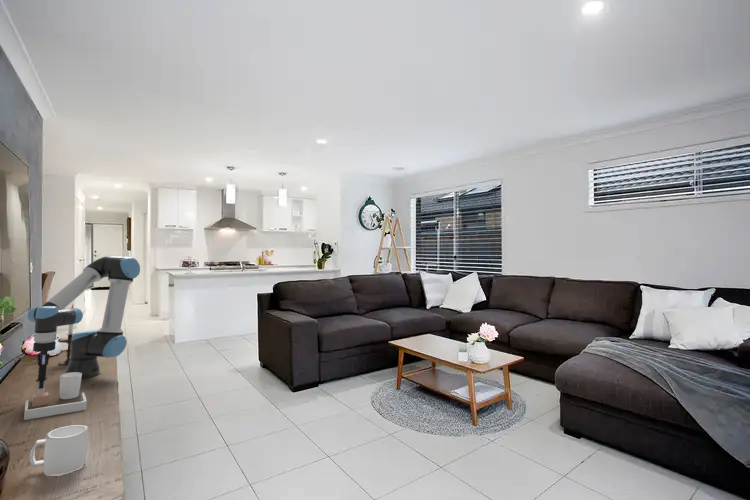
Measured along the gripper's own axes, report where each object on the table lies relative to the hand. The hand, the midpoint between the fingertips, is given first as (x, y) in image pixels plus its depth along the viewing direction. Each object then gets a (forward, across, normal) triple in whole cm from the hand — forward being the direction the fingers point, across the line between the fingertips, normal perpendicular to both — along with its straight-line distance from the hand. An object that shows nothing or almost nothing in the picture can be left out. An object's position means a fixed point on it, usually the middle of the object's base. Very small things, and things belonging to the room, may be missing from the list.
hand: (40, 395), depth 171 cm
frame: (+2, +19, +5) cm, 20 cm away
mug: (+2, +76, +5) cm, 76 cm away
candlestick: (+2, -63, +12) cm, 64 cm away
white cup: (+2, +4, +10) cm, 11 cm away
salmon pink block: (+2, +8, 0) cm, 8 cm away
